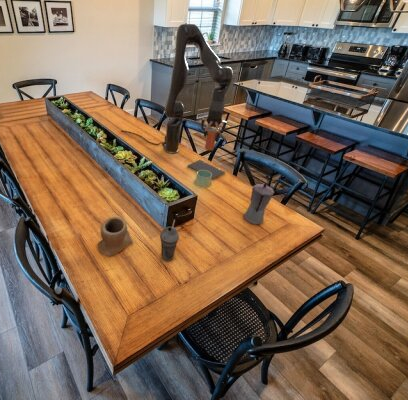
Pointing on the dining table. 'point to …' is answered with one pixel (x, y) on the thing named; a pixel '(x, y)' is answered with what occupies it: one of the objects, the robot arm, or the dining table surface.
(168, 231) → the beverage cup
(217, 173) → the slate board
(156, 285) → the dining table surface
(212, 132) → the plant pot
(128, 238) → the stone cup
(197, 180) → the cup
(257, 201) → the moka pot
